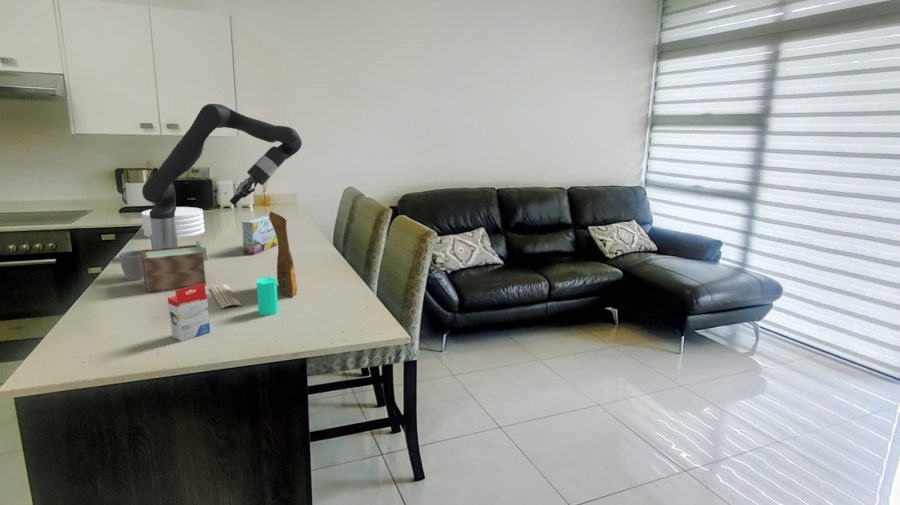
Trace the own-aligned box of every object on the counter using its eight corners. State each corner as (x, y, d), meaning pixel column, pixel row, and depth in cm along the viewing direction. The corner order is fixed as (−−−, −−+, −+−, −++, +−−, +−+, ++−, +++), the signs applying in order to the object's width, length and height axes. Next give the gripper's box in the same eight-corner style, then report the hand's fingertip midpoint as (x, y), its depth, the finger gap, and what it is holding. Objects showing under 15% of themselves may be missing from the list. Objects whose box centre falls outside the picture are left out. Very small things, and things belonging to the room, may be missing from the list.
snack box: (254, 255, 223) (252, 222, 220) (243, 254, 224) (240, 221, 221) (279, 245, 244) (277, 214, 240) (268, 244, 245) (267, 213, 241)
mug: (149, 280, 185) (146, 255, 182) (121, 282, 181) (118, 257, 178) (150, 271, 195) (147, 247, 193) (124, 274, 191) (120, 249, 188)
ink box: (201, 328, 144) (196, 279, 141) (210, 332, 142) (206, 283, 138) (171, 337, 138) (165, 286, 134) (180, 342, 135) (175, 290, 131)
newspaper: (209, 290, 178) (209, 285, 178) (230, 287, 182) (230, 283, 181) (222, 311, 159) (221, 306, 159) (245, 307, 163) (245, 302, 163)
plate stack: (130, 236, 251) (127, 214, 248) (170, 226, 277) (168, 205, 274) (180, 240, 246) (178, 217, 243) (216, 229, 273) (214, 208, 270)
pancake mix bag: (280, 300, 169) (275, 218, 162) (272, 284, 185) (267, 209, 178) (300, 297, 172) (297, 217, 165) (290, 282, 188) (287, 208, 181)
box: (198, 275, 192) (195, 244, 189) (205, 285, 181) (202, 252, 178) (144, 282, 182) (140, 250, 179) (148, 293, 171) (144, 259, 168)
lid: (200, 253, 190) (199, 240, 189) (206, 260, 180) (205, 247, 179) (145, 258, 180) (144, 245, 178) (149, 267, 170) (147, 252, 169)
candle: (261, 308, 161) (259, 272, 158) (280, 308, 161) (278, 273, 158) (256, 315, 155) (253, 278, 152) (275, 315, 156) (273, 278, 153)
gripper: (250, 161, 198) (219, 194, 194) (260, 164, 187) (227, 199, 183) (265, 174, 202) (235, 206, 198) (275, 178, 192) (244, 212, 188)
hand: (231, 203), depth 191 cm, fingers closed
